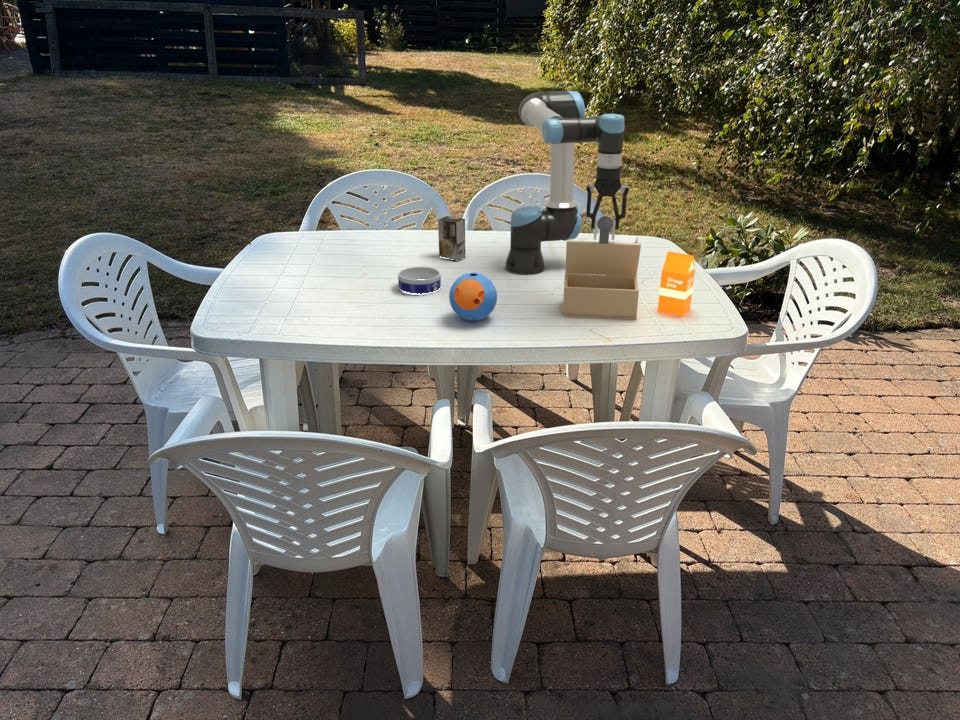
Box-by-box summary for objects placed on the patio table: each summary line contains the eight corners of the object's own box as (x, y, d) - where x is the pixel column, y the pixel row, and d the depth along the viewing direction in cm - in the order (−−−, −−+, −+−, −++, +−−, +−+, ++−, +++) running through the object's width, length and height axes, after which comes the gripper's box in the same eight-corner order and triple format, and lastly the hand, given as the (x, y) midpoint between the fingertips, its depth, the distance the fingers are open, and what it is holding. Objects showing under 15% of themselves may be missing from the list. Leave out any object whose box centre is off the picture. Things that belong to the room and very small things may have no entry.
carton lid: (567, 221, 245) (568, 211, 248) (565, 275, 263) (565, 265, 266) (644, 224, 242) (644, 214, 245) (636, 278, 260) (636, 268, 263)
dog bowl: (417, 278, 289) (416, 263, 286) (449, 287, 281) (449, 271, 278) (389, 290, 278) (389, 274, 275) (423, 299, 270) (422, 283, 267)
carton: (562, 316, 255) (563, 287, 251) (563, 300, 268) (565, 273, 263) (636, 319, 252) (638, 290, 248) (634, 304, 265) (636, 276, 261)
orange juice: (682, 316, 255) (689, 258, 246) (657, 311, 259) (663, 254, 250) (690, 309, 261) (697, 252, 252) (665, 304, 265) (671, 248, 256)
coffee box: (466, 258, 311) (465, 218, 304) (457, 262, 306) (456, 222, 299) (447, 254, 315) (446, 215, 308) (438, 258, 310) (437, 219, 304)
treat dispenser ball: (500, 312, 258) (501, 268, 252) (491, 329, 245) (491, 284, 238) (456, 308, 262) (455, 265, 255) (444, 325, 248) (443, 280, 241)
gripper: (579, 167, 238) (575, 241, 248) (639, 169, 236) (632, 243, 246) (580, 163, 245) (576, 234, 255) (637, 164, 243) (631, 236, 253)
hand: (604, 238), depth 251 cm, fingers closed on carton lid, 5 cm apart
